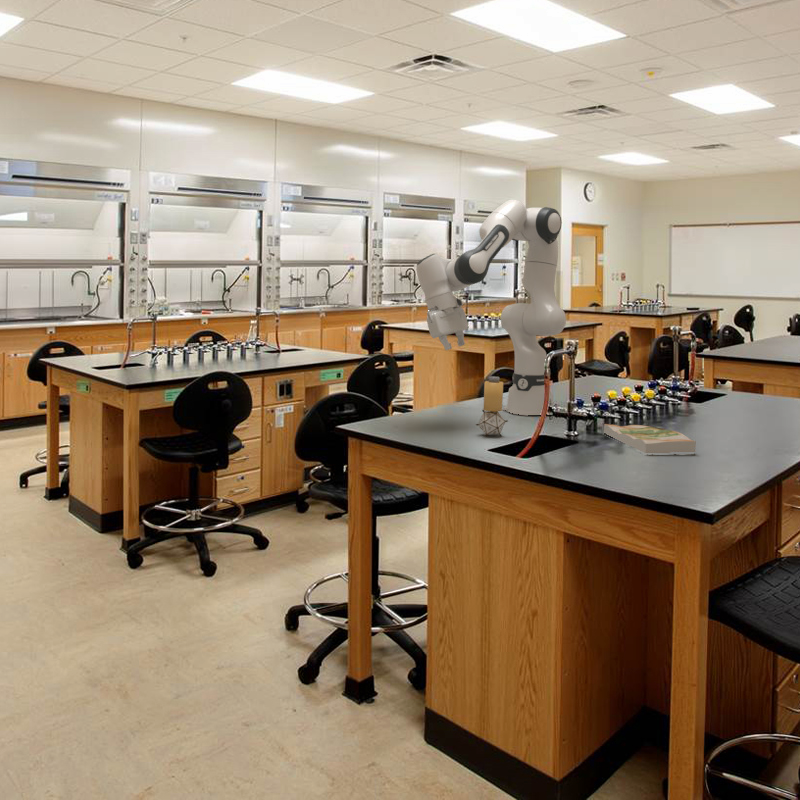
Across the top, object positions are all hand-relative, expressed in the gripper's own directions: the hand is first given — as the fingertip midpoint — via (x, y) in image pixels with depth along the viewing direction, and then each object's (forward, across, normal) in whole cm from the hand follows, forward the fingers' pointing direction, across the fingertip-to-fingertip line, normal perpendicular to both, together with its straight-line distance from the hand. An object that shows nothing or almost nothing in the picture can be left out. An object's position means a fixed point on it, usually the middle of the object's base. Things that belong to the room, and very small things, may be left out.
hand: (455, 347), depth 247 cm
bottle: (+22, -6, -9) cm, 24 cm away
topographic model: (+46, +10, -45) cm, 65 cm away
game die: (+29, -7, -6) cm, 31 cm away
